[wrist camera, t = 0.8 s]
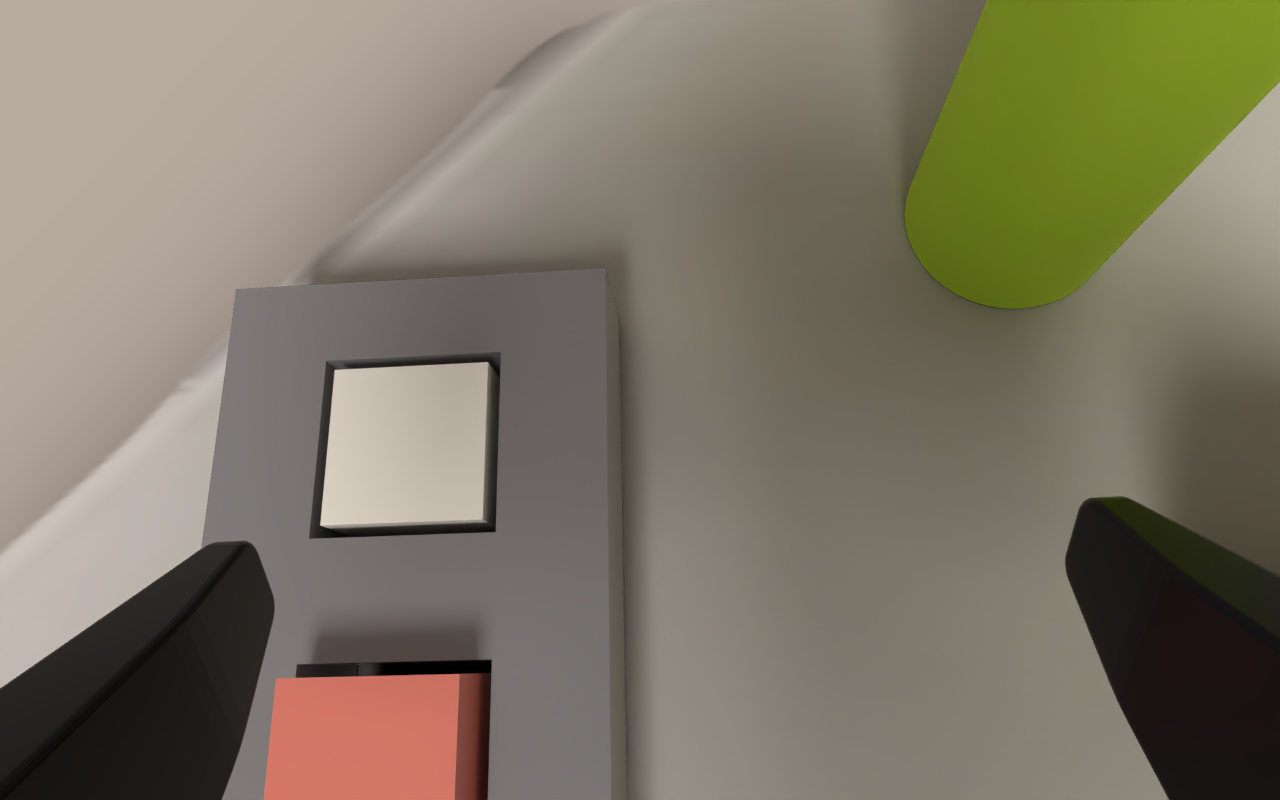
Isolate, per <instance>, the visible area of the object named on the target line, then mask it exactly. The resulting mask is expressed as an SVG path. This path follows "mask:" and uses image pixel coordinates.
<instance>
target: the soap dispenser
mask: <svg viewBox="0 0 1280 800" xmlns="http://www.w3.org/2000/svg"><path fill="white" fill-rule="evenodd" d="M1279 82H1280V0H987V1H986V3H985V6H984V8H983V11H982V13H981V15H980V18H979V20H978V23H977V25H976V28H975V30H974V32H973V35H972V37H971V40H970V42H969V45H968V47H967V50H966V52H965V54H964V57H963V59H962V62H961V64H960V67H959V69H958V71H957V74H956V76H955V79H954V81H953V84H952V86H951V88H950V91H949V93H948V96H947V98H946V101H945V103H944V105H943V108H942V110H941V113H940V115H939V118H938V120H937V122H936V125H935V127H934V130H933V132H932V135H931V137H930V139H929V142H928V144H927V147H926V149H925V152H924V154H923V156H922V159H921V161H920V164H919V166H918V169H917V171H916V173H915V176H914V178H913V181H912V183H911V186H910V188H909V191H908V194H907V198H906V204H905V226H906V231H907V235H908V238H909V241H910V244H911V246H912V249H913V251H914V253H915V254H916V256H917V258H918V259H919V261H920V262H921V264H922V265H923V266H924V268H925V269H926V270H927V271H928V272H929V273H930V274H931V275H932V276H933V277H934V278H935V279H936V280H937V281H938V282H939V283H941V284H942V285H943V286H945V287H946V288H948V289H949V290H951V291H952V292H954V293H956V294H957V295H959V296H961V297H963V298H966V299H968V300H970V301H973V302H976V303H979V304H983V305H986V306H991V307H997V308H1006V309H1022V308H1031V307H1037V306H1042V305H1045V304H1049V303H1052V302H1054V301H1057V300H1059V299H1061V298H1063V297H1065V296H1067V295H1069V294H1071V293H1072V292H1074V291H1075V290H1076V289H1078V288H1079V287H1080V286H1081V285H1083V284H1084V283H1085V282H1086V281H1087V280H1088V279H1089V278H1090V277H1091V276H1092V275H1093V274H1094V273H1095V272H1096V271H1097V270H1098V269H1099V268H1100V267H1101V265H1102V264H1103V263H1104V262H1105V261H1106V260H1107V259H1108V258H1109V257H1110V256H1111V255H1112V254H1113V253H1114V252H1115V251H1116V250H1117V249H1118V248H1119V247H1120V246H1121V245H1122V244H1123V243H1124V242H1125V241H1126V240H1127V239H1128V238H1129V237H1130V236H1131V235H1132V234H1133V232H1134V231H1135V230H1136V229H1137V228H1138V227H1139V226H1140V225H1141V224H1142V223H1143V222H1144V221H1145V220H1146V219H1147V218H1148V217H1149V216H1150V215H1151V214H1152V213H1153V212H1154V211H1155V210H1156V209H1157V208H1158V207H1159V206H1160V205H1161V204H1162V203H1163V202H1164V200H1165V199H1166V198H1167V197H1168V196H1169V195H1170V194H1171V193H1172V192H1173V191H1174V190H1175V189H1176V188H1177V187H1178V186H1179V185H1180V184H1181V183H1182V182H1183V181H1184V180H1185V179H1186V178H1187V177H1188V176H1189V175H1190V174H1191V173H1192V172H1193V171H1194V170H1195V168H1196V167H1197V166H1198V165H1199V164H1200V163H1201V162H1202V161H1203V160H1204V159H1205V158H1206V157H1207V156H1208V155H1209V154H1210V153H1211V152H1212V151H1213V150H1214V149H1215V148H1216V147H1217V146H1218V145H1219V144H1220V143H1221V142H1222V141H1223V140H1224V139H1225V138H1226V136H1227V135H1228V134H1229V133H1230V132H1231V131H1232V130H1233V129H1234V128H1235V127H1236V126H1237V125H1238V124H1239V123H1240V122H1241V121H1242V120H1243V119H1244V118H1245V117H1246V116H1247V115H1248V114H1249V113H1250V112H1251V111H1252V110H1253V109H1254V108H1255V107H1256V106H1257V105H1258V103H1259V102H1260V101H1261V100H1262V99H1263V98H1264V97H1265V96H1266V95H1267V94H1268V93H1269V92H1270V91H1271V90H1272V89H1273V88H1274V87H1275V86H1276V85H1277V84H1278V83H1279Z"/></svg>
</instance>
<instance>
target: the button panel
mask: <svg viewBox="0 0 1280 800" xmlns="http://www.w3.org/2000/svg"><path fill="white" fill-rule="evenodd" d="M481 362H488V363H489V364H490V365H491V367H492V368H493V370H494V371H495V372H496V374H497V375H498V376H499V378H500V401H499V435H498V469H497V503H496V532H486V533H458V534H430V535H402V536H375V537H351V536H348V535H345V534H343V533H340V532H337V531H334V530H332V529H329V528H326V527H323V526H320V523H321V512H322V501H323V490H324V480H325V469H326V458H327V447H328V437H329V426H330V415H331V404H332V394H333V383H334V372H335V370H342V369H362V368H382V367H402V366H421V365H441V364H461V363H481ZM224 541H248V542H250V543H252V544H253V545H254V546H255V547H256V549H257V551H258V554H259V557H260V559H261V562H262V565H263V568H264V570H265V573H266V576H267V579H268V582H269V584H270V587H271V590H272V593H273V596H274V602H275V612H274V619H273V623H272V627H271V631H270V635H269V639H268V643H267V647H266V651H265V655H264V659H263V663H262V667H261V671H260V675H259V679H258V683H257V687H256V691H255V695H254V699H253V703H252V707H251V711H250V715H249V719H248V723H247V727H246V730H245V734H244V738H243V741H242V745H241V748H240V751H239V754H238V757H237V760H236V763H235V765H234V768H233V771H232V774H231V777H230V779H229V782H228V785H227V787H226V790H225V793H224V795H223V798H222V800H263V799H264V789H265V780H266V770H267V760H268V751H269V741H270V731H271V722H272V712H273V702H274V693H275V683H276V678H309V677H348V676H357V665H360V664H401V663H441V662H481V661H492V673H491V707H490V740H489V774H488V800H627V753H626V693H625V632H624V572H623V511H622V451H621V390H620V330H619V317H618V313H617V310H616V306H615V302H614V299H613V295H612V291H611V287H610V284H609V280H608V276H607V273H606V269H605V268H592V269H575V270H558V271H541V272H524V273H506V274H489V275H472V276H455V277H438V278H421V279H403V280H386V281H369V282H352V283H335V284H317V285H300V286H283V287H267V288H250V289H236V296H235V303H234V311H233V318H232V325H231V333H230V340H229V347H228V355H227V362H226V370H225V377H224V384H223V392H222V399H221V407H220V414H219V421H218V429H217V436H216V444H215V451H214V458H213V466H212V473H211V481H210V488H209V495H208V503H207V510H206V518H205V525H204V532H203V540H202V547H201V549H202V548H204V547H205V546H207V545H208V544H210V543H214V542H224Z"/></svg>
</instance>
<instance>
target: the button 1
mask: <svg viewBox="0 0 1280 800" xmlns="http://www.w3.org/2000/svg"><path fill="white" fill-rule="evenodd" d="M499 401H500V378H499V376H498V375H497V374H496V372H495V371H494V370H493V368H492V367H491V365H490V364H489V363H488V362H481V363H461V364H441V365H421V366H402V367H382V368H362V369H342V370H335V372H334V383H333V394H332V404H331V415H330V426H329V437H328V447H327V458H326V469H325V480H324V490H323V501H322V512H321V523H320V526H323V527H326V528H329V529H332V530H334V531H337V532H340V533H343V534H345V535H348V536H351V537H375V536H402V535H430V534H458V533H486V532H496V503H497V469H498V435H499Z"/></svg>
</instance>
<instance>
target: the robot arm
mask: <svg viewBox="0 0 1280 800" xmlns="http://www.w3.org/2000/svg"><path fill="white" fill-rule="evenodd" d="M1065 566H1066V573H1067V577H1068V580H1069V582H1070V585H1071V587H1072V590H1073V592H1074V595H1075V597H1076V600H1077V602H1078V605H1079V607H1080V610H1081V612H1082V615H1083V617H1084V620H1085V622H1086V625H1087V627H1088V630H1089V632H1090V635H1091V637H1092V640H1093V642H1094V645H1095V648H1096V650H1097V653H1098V655H1099V658H1100V660H1101V663H1102V665H1103V668H1104V670H1105V673H1106V675H1107V678H1108V680H1109V683H1110V685H1111V687H1112V689H1113V692H1114V694H1115V696H1116V699H1117V701H1118V703H1119V705H1120V707H1121V709H1122V711H1123V713H1124V715H1125V717H1126V719H1127V721H1128V723H1129V725H1130V727H1131V729H1132V731H1133V733H1134V734H1135V736H1136V738H1137V740H1138V742H1139V744H1140V746H1141V748H1142V750H1143V751H1144V753H1145V755H1146V757H1147V759H1148V761H1149V763H1150V765H1151V767H1152V768H1153V770H1154V772H1155V774H1156V776H1157V778H1158V780H1159V782H1160V783H1161V785H1162V787H1163V789H1164V791H1165V793H1166V795H1167V797H1168V799H1169V800H1280V576H1279V575H1277V574H1275V573H1273V572H1271V571H1269V570H1267V569H1265V568H1263V567H1261V566H1259V565H1257V564H1255V563H1253V562H1252V561H1250V560H1248V559H1246V558H1244V557H1242V556H1240V555H1238V554H1236V553H1234V552H1232V551H1230V550H1228V549H1226V548H1224V547H1222V546H1221V545H1219V544H1217V543H1215V542H1213V541H1211V540H1209V539H1207V538H1205V537H1203V536H1201V535H1199V534H1197V533H1195V532H1193V531H1191V530H1190V529H1188V528H1186V527H1184V526H1182V525H1180V524H1178V523H1176V522H1174V521H1172V520H1170V519H1168V518H1166V517H1164V516H1162V515H1161V514H1159V513H1157V512H1155V511H1153V510H1151V509H1149V508H1147V507H1145V506H1143V505H1141V504H1139V503H1137V502H1135V501H1133V500H1132V499H1129V498H1127V497H1121V496H1116V497H1097V498H1089V499H1087V500H1085V501H1084V502H1083V503H1082V505H1081V506H1080V508H1079V511H1078V514H1077V518H1076V521H1075V525H1074V528H1073V532H1072V535H1071V539H1070V542H1069V546H1068V549H1067V553H1066V559H1065ZM274 612H275V602H274V596H273V593H272V590H271V587H270V584H269V582H268V579H267V576H266V573H265V570H264V568H263V565H262V562H261V559H260V557H259V554H258V551H257V549H256V547H255V546H254V545H253V544H252V543H250V542H248V541H224V542H214V543H210V544H208V545H207V546H205V547H204V548H202V549H201V550H199V551H198V552H196V553H195V554H193V555H192V556H191V557H189V558H188V559H186V560H185V561H183V562H182V563H180V564H179V565H178V566H176V567H175V568H173V569H172V570H170V571H169V572H168V573H166V574H165V575H163V576H162V577H160V578H159V579H157V580H156V581H155V582H153V583H152V584H150V585H149V586H147V587H146V588H145V589H143V590H142V591H140V592H139V593H137V594H136V595H134V596H133V597H132V598H130V599H129V600H127V601H126V602H124V603H123V604H121V605H120V606H119V607H117V608H116V609H114V610H113V611H111V612H110V613H109V614H107V615H106V616H104V617H103V618H101V619H100V620H98V621H97V622H96V623H94V624H93V625H91V626H90V627H88V628H87V629H85V630H84V631H83V632H81V633H80V634H78V635H77V636H75V637H74V638H73V639H71V640H70V641H68V642H67V643H65V644H64V645H62V646H61V647H60V648H58V649H57V650H55V651H54V652H52V653H51V654H49V655H48V656H47V657H45V658H44V659H42V660H41V661H39V662H38V663H36V664H35V665H34V666H32V667H31V668H29V669H28V670H26V671H25V672H23V673H22V674H21V675H19V676H18V677H16V678H15V679H13V680H12V681H11V682H9V683H8V684H6V685H5V686H3V687H2V688H0V800H222V798H223V795H224V793H225V790H226V787H227V785H228V782H229V779H230V777H231V774H232V771H233V768H234V765H235V763H236V760H237V757H238V754H239V751H240V748H241V745H242V741H243V738H244V734H245V730H246V727H247V723H248V719H249V715H250V711H251V707H252V703H253V699H254V695H255V691H256V687H257V683H258V679H259V675H260V671H261V667H262V663H263V659H264V655H265V651H266V647H267V643H268V639H269V635H270V631H271V627H272V623H273V619H274Z"/></svg>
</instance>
